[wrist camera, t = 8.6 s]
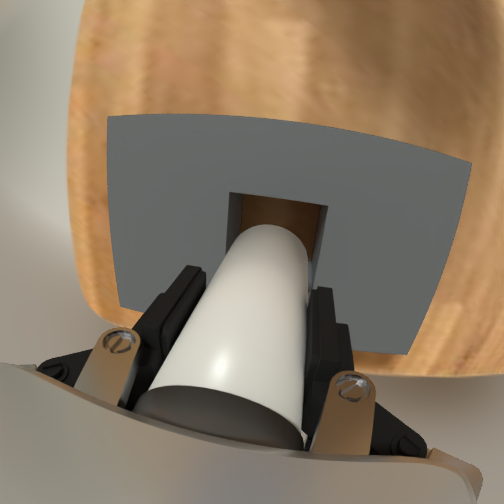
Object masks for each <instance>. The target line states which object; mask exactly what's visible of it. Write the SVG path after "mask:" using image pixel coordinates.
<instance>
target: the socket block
mask: <svg viewBox="0 0 504 504" xmlns="http://www.w3.org/2000/svg"><path fill="white" fill-rule="evenodd" d="M471 166H472V163H470V162H467V161H464V160H461V159H458V158H455V157H452V156H449V155H445V154H442V153H439V152H436V151H432V150H429V149H426V148H422V147H418V146H415V145H411V144H407V143H403V142H399V141H395V140H391V139H387V138H383V137H379V136H374V135H369V134H365V133H360V132H355V131H350V130H344V129H339V128H333V127H327V126H321V125H315V124H308V123H301V122H293V121H285V120H276V119H267V118H256V117H244V116H229V115H207V114H143V115H122V116H108V120H107V185H108V205H109V220H110V232H111V242H112V252H113V260H114V268H115V275H116V282H117V289H118V295H119V301H120V306H121V307H124V308H128V309H132V310H135V311H139V312H143V313H145V311H146V310H147V309H148V307H149V306H150V305H151V304H152V302H153V301H154V300H155V299H156V297H157V296H158V295H159V294H160V293H165V292H166V291H167V289H168V288H169V287H170V285H171V284H172V283H173V282H174V280H175V279H176V278H177V277H178V275H179V274H180V273H181V271H182V270H183V269H184V268H185V266H186V265H192V266H198V267H201V268H202V271H205V272H206V288H207V287H208V285H209V283H210V281H211V280H212V278H213V276H214V275H215V273H216V271H217V270H218V268H219V266H220V265H221V263H222V261H223V259H224V258H225V256H226V254H227V253H228V251H229V249H230V248H231V246H232V244H233V243H234V241H235V240H236V238H237V237H238V236H239V235H240V230H241V218H242V206H243V194H251V195H259V196H266V197H274V198H281V199H288V200H295V201H301V202H308V203H314V204H320V205H321V210H320V216H319V221H318V227H317V233H316V238H315V244H314V249H313V255H312V260H311V261H309V260H308V303H309V298H310V294H311V290H312V289H316V290H317V287H318V286H322V287H329V288H332V289H333V298H334V306H335V316H336V323H343V324H347V325H348V327H349V333H350V340H351V347H352V350H355V351H365V352H376V353H387V354H401V355H407V354H408V352H409V350H410V348H411V346H412V344H413V341H414V339H415V337H416V335H417V333H418V331H419V329H420V327H421V324H422V322H423V320H424V318H425V315H426V313H427V311H428V308H429V306H430V304H431V301H432V299H433V296H434V294H435V291H436V289H437V286H438V284H439V281H440V278H441V275H442V273H443V270H444V267H445V264H446V261H447V258H448V255H449V252H450V249H451V246H452V243H453V240H454V236H455V233H456V230H457V226H458V222H459V219H460V215H461V211H462V207H463V203H464V199H465V195H466V190H467V186H468V181H469V176H470V171H471Z"/></svg>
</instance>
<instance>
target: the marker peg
mask: <svg viewBox="0 0 504 504" xmlns="http://www.w3.org/2000/svg"><path fill="white" fill-rule="evenodd" d="M307 307H308V256H307V252H306V249H305V247H304V245H303V244H302V242H301V241H300V239H299V238H298V237H297V236H296V235H294V234H293V233H292V232H290V231H289V230H287V229H285V228H283V227H280V226H276V225H268V224H266V225H257V226H254V227H251V228H249V229H247V230H245V231H244V232H242V233H241V234H240V235H239V236H238V237H237V238H236V240H235V241H234V243H233V244H232V246H231V248H230V249H229V251H228V253H227V254H226V256H225V258H224V259H223V261H222V263H221V265H220V266H219V268H218V270H217V271H216V273H215V275H214V276H213V278H212V280H211V281H210V283H209V285H208V287H207V288H206V290H205V292H204V293H203V295H202V297H201V299H200V300H199V302H198V304H197V305H196V307H195V309H194V311H193V312H192V314H191V316H190V318H189V319H188V321H187V323H186V324H185V326H184V328H183V330H182V331H181V333H180V335H179V337H178V338H177V340H176V342H175V344H174V345H173V347H172V349H171V351H170V352H169V354H168V356H167V358H166V360H165V361H164V363H163V365H162V367H161V368H160V370H159V372H158V374H157V376H156V377H155V379H154V381H153V383H152V384H151V386H150V388H149V390H148V391H147V392H145V393H144V394H142V395H141V396H140V398H139V399H138V401H137V403H136V404H135V406H134V408H133V410H132V412H134V413H136V414H139V415H142V416H145V417H148V418H151V419H154V420H157V421H160V422H163V423H167V424H170V425H173V426H177V427H180V428H184V429H187V430H191V431H195V432H198V433H202V434H206V435H211V436H215V437H219V438H224V439H228V440H233V441H238V442H243V443H249V444H254V445H260V446H266V447H273V448H280V449H288V450H296V451H304V442H303V438H302V436H301V426H302V413H303V399H304V378H305V360H306V337H307Z"/></svg>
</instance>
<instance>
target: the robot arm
mask: <svg viewBox="0 0 504 504" xmlns="http://www.w3.org/2000/svg"><path fill="white" fill-rule="evenodd" d="M205 290H206V272H205V271H202V268H201V267H198V266H192V265H186V266H185V268H184V269H183V270H182V271H181V273H180V274H179V275H178V277H177V278H176V279H175V280H174V282H173V283H172V284H171V285H170V287H169V288H168V289H167V291H166V292H165V293H160V294H159V295H158V296H157V297H156V299H155V300H154V301H153V302H152V304H151V305H150V306H149V307H148V309H147V310H146V311H145V313H144V314H143V315H142V316H141V318H140V319H139V320H138V321H137V323H136V324H135V325H134V327H133V328H132V329H129V328H125V327H118V328H113V329H110V330H108V331H106V332H104V333H103V334H102V335H101V336H100V338H99V339H98V341H97V343H96V345H95V347H94V349H90V350H86V351H82V352H78V353H73V354H69V355H65V356H61V357H56V358H52V359H49V360H46V361H45V362H43V363H42V364H41V365H40V366H39V367H38V368H37V366H36V365H35V364H33V365H15V364H8V363H0V504H477V499H478V496H479V493H480V490H481V487H482V483H483V477H482V473H481V472H480V470H479V469H478V468H477V467H475V466H474V465H472V464H469V463H467V462H465V461H462V460H460V459H458V458H455V457H453V456H451V455H449V454H447V453H445V452H442V451H440V450H438V449H436V448H433V449H432V450H430V449H428V448H427V445H426V443H425V441H424V439H423V438H422V437H421V436H420V435H419V434H418V433H416V432H415V431H414V430H412V429H411V428H409V427H408V426H407V425H405V424H404V423H403V422H401V421H400V420H399V419H398V418H396V417H395V416H393V415H392V414H391V413H390V412H388V411H387V410H386V409H384V408H383V407H382V406H381V405H379V404H378V403H377V402H375V397H376V389H375V385H374V384H373V382H372V381H371V380H370V379H369V378H368V377H367V376H365V375H364V374H362V373H359V372H356V371H354V362H353V355H352V347H351V340H350V333H349V327H348V325H347V324H343V323H336V316H335V306H334V298H333V289H332V288H329V287H322V286H318V287H317V290H316V289H312V290H311V294H310V298H309V303H308V307H307V337H306V360H305V378H304V399H303V413H302V426H301V430H302V431H303V432H304V433H306V434H307V436H306V439H305V442H304V451H296V450H288V449H280V448H273V447H266V446H260V445H254V444H249V443H243V442H238V441H233V440H228V439H224V438H219V437H215V436H211V435H206V434H202V433H198V432H195V431H191V430H187V429H184V428H180V427H177V426H173V425H170V424H167V423H163V422H160V421H157V420H154V419H151V418H148V417H145V416H142V415H139V414H136V413H134V412H132V410H133V408H134V406H135V404H136V403H137V401H138V399H139V398H140V396H141V395H142V394H144V393H145V392H147V391H148V390H149V388H150V386H151V384H152V383H153V381H154V379H155V377H156V376H157V374H158V372H159V370H160V368H161V367H162V365H163V363H164V361H165V360H166V358H167V356H168V354H169V352H170V351H171V349H172V347H173V345H174V344H175V342H176V340H177V338H178V337H179V335H180V333H181V331H182V330H183V328H184V326H185V324H186V323H187V321H188V319H189V318H190V316H191V314H192V312H193V311H194V309H195V307H196V305H197V304H198V302H199V300H200V299H201V297H202V295H203V293H204V292H205Z"/></svg>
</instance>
